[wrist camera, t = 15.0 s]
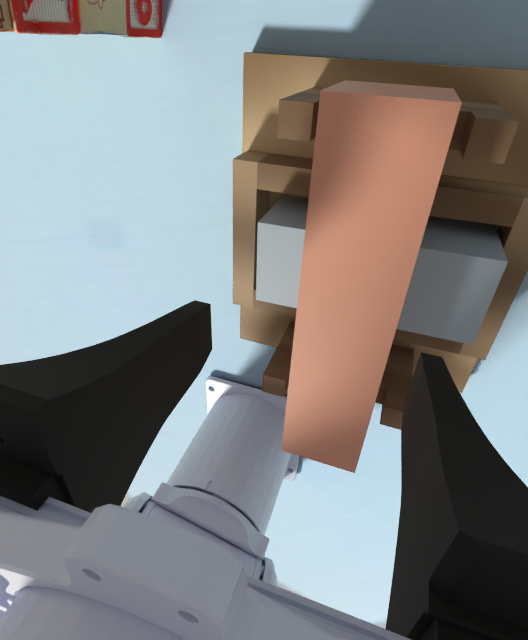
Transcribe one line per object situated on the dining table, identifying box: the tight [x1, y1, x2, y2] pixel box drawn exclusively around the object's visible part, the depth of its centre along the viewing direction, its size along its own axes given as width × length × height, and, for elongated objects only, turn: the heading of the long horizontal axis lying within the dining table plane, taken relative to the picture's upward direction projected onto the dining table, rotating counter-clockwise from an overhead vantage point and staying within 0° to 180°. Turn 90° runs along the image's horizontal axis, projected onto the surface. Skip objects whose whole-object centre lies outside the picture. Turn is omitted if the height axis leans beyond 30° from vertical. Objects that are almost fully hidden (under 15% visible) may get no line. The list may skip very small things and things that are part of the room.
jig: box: [233, 52, 528, 430], centre depth 19 cm, size 16×14×6 cm
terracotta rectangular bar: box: [281, 80, 462, 473], centre depth 16 cm, size 15×4×4 cm, turn 178°
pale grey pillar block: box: [256, 196, 508, 345], centre depth 19 cm, size 4×10×4 cm, turn 88°
